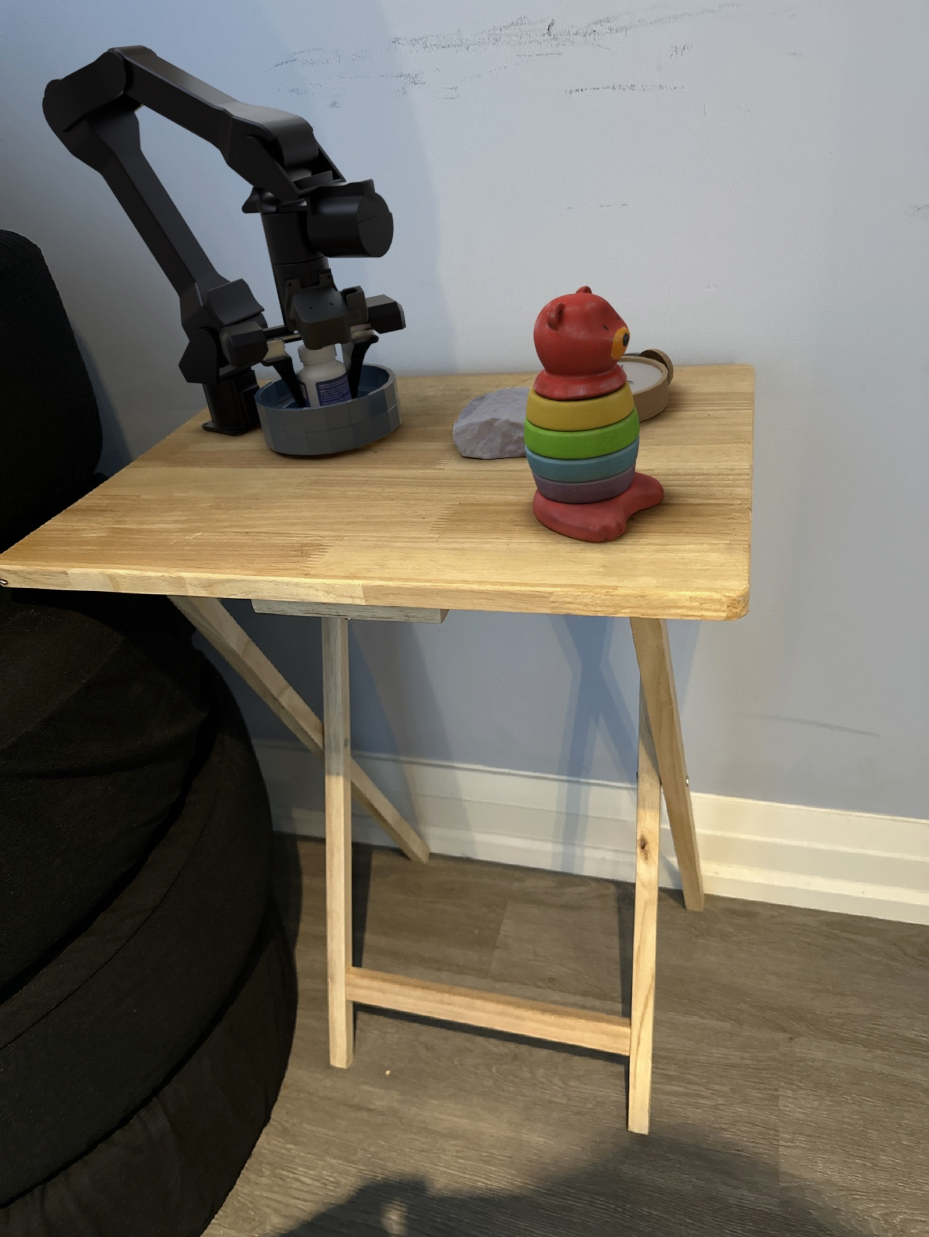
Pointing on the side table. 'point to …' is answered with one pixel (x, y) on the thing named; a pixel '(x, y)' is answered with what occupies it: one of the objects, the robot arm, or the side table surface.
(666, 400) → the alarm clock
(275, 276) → the robot arm
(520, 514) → the side table surface
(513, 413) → the stone block
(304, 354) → the pill bottle
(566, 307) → the stacking bear
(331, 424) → the bowl
